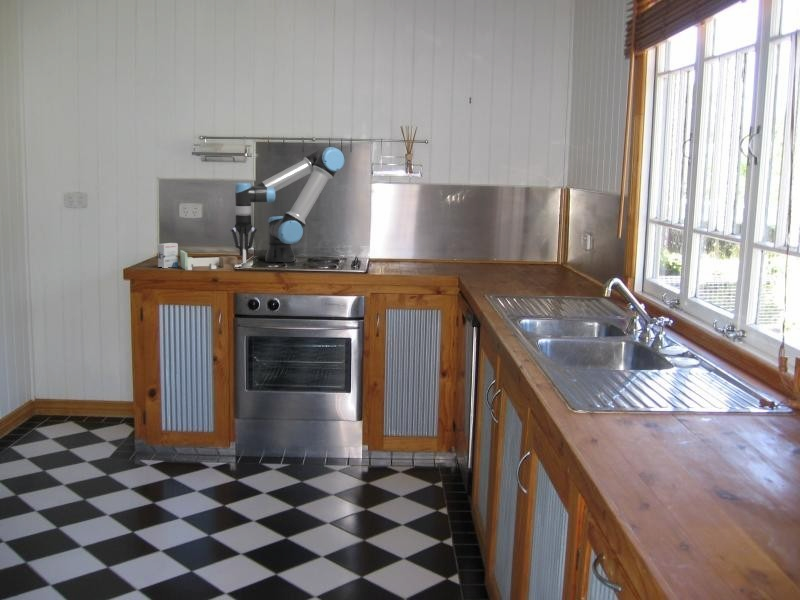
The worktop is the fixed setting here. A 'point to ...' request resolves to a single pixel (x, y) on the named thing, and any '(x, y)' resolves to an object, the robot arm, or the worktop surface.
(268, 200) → the robot arm
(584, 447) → the worktop surface
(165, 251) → the ink box
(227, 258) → the block
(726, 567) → the worktop surface
